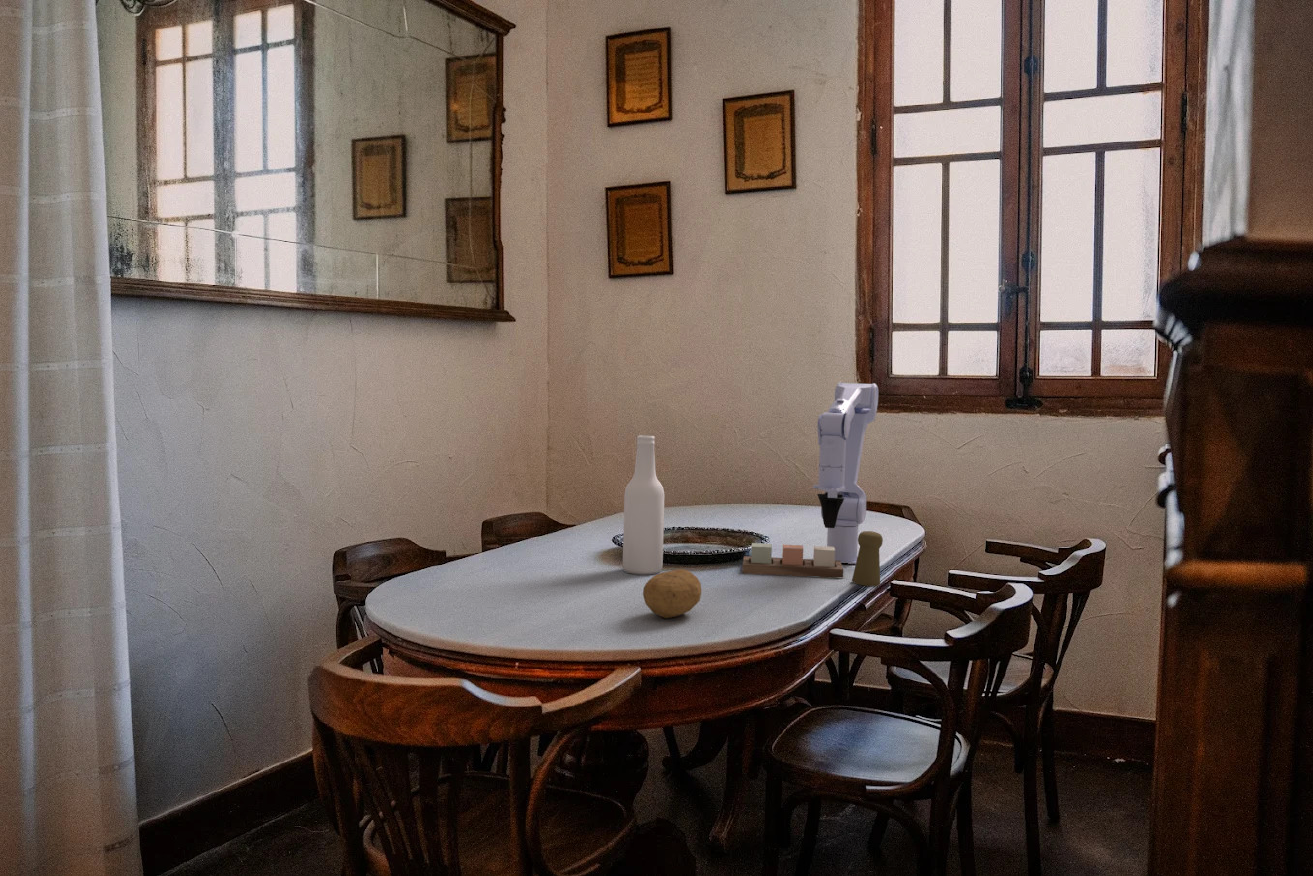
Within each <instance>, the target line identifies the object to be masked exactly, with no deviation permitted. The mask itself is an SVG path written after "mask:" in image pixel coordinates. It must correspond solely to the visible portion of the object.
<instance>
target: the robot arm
mask: <svg viewBox="0 0 1313 876" xmlns="http://www.w3.org/2000/svg"><path fill="white" fill-rule="evenodd" d="M878 405H879V387H878V385H877V383H875V382H874V383H854V382H853V383H852V382H851V383H847V382H838V383H837V384H836V386H835V389H834V401H833V402H832V404H831V405H830V406H829V408H828V410H827V411H826V412H823V413H822V414H819V415H818V419H817V424H816V426H817V427H816V428H817V430H816V431H817V438H818V439H817V442H818V443H817V444H818V446H819V455H818V457H819V458H818V459H819V460H818V477H817V479H818V480H817V483H818V484H812V489H817V490H820V491H823V492H824V493H817V494H816V496H817V498H818V500H819V503H820V507H821V508H820V514H821V515H820V516H821V518H822V522H823V525H824V528H825V529H827V532H826V533H827V534H826V536H827V537H826V547H834V548H835V560H837V561H841V563H848V564H847V565H856V561H857V557H858V549H859V546H858V545H859V544H858V537H859V526H860V525H862V524H863V523H864V522H865V519H866V514H867V499H868V498H867V495H866V492H865V491H864V489H862V488H861V487H860V486H859V485H858V478H859V473H860V468H861V467H860V466H861V461H862V455H863V454H862V453H863V449H864V448H863V446H864V441H865V433H866V430H867V428H868V425H869V424H870V423H872V422H874V421H875V420H876V419H875V418H876V416H877V412H878V411H877V409H878Z"/></svg>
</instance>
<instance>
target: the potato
mask: <svg viewBox="0 0 1313 876" xmlns="http://www.w3.org/2000/svg"><path fill="white" fill-rule="evenodd" d="M642 591H643V592H642V596H643V601H644V603H645V604H646V606H647V607H648V608H649V610H650V611H651V612H652V613H653V614H654V615H655V614H656V615H658V616H660V617H662V618H664V619H672V617H673V618H676V617H678V616H680V615H683V614H686V613H688V612H690V611H691V610H693V609H694V607H695V606H696V605H697V604H698V603H699V602H700V601H701V596H702V585H701V582H700V580H699V578H698V577H697V576H696V575H695V574H694V573H692V572H691V571H689V570H687V569H683V568H682V569H680V568H679V569H674V570H669V571H665V572H664V571H663V572H659V573H657V574H654V576H652V577H651V578H650V579H649V580H648V581H647V582H646V583H645V585H644V587H643V590H642Z"/></svg>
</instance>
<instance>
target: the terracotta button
mask: <svg viewBox="0 0 1313 876" xmlns="http://www.w3.org/2000/svg"><path fill="white" fill-rule="evenodd" d="M781 556H782V557H781V558H782V564H785V565H803V559H804V545H801V544H800V545H799V544H782V555H781Z"/></svg>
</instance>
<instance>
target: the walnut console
mask: <svg viewBox="0 0 1313 876" xmlns="http://www.w3.org/2000/svg"><path fill="white" fill-rule="evenodd" d="M742 574H746V575H747V574H750V575H768V576H770V575H772V576H787V575H791V576H793V577H807V576H819V577H818V578H828V577H843V578H844V567H843V565H842V564H841V561H837V560H835V567H827V566H814V564H813V558H811V559H810V558H803V565H785V564H782V557H772V556H771V564H764V563H751V556H749V555H748V556H747V555H744V556H743V562H742Z"/></svg>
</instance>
